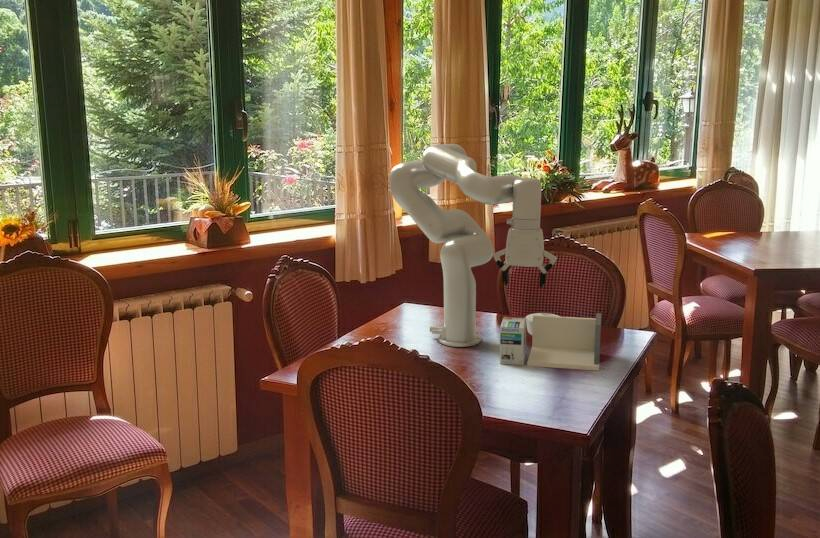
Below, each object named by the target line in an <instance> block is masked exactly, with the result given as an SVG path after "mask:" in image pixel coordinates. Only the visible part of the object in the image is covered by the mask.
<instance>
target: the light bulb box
mask: <svg viewBox="0 0 820 538" xmlns="http://www.w3.org/2000/svg"><path fill="white" fill-rule="evenodd" d="M499 330H500V331H499V333H500V337H499V338H500V339H499V342H500V343H499V345H500V346H499V360H500V361H499V364H500V365H513V366H515V365H516V366H524V364H525V360H526V355H527V323H526V317H513V316H511V317H510V316H509V317H508V316H503V318H502V321H501V324H500V328H499Z"/></svg>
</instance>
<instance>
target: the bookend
mask: <svg viewBox="0 0 820 538" xmlns="http://www.w3.org/2000/svg"><path fill="white" fill-rule="evenodd" d="M595 318H596V325H595V350H594V364H598V365H599V366H600V353H601V333H602V332H601V331H602V329H601V328H602V313H601V312H600V313H599V312H596V314H595Z"/></svg>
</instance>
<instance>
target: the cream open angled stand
mask: <svg viewBox="0 0 820 538" xmlns="http://www.w3.org/2000/svg"><path fill="white" fill-rule="evenodd" d="M559 316H560V315H558V316H541V315H533V333H532V335H531V336H532V339H531V340H532V343H531V344H532V345H531V349H530V353H529V355H528V359H527V366H528V367H541V368H557V369H570V370H581V371H582V370H584V371H585V370H586V371H600V364H599V365H598V364H594V350H595V325H596V317H595V318H593V317H577V316H576V317H575V316H560V317H559Z"/></svg>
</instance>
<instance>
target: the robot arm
mask: <svg viewBox="0 0 820 538" xmlns="http://www.w3.org/2000/svg"><path fill="white" fill-rule="evenodd" d="M477 167H478V165H477V163H476V161H475V160H474V159H473V158H472V157H470V156H468V154H467V152H466V150H465V149H464V148H463V146H461V145H460V144H457V143H442V144H441V143H439V144H433V145H430V146H429V147H427V148H425V150H424V151H423V153H422V155H421V159H420V160H410V161H404V162H401V163H398V164H396V165H395V166H394V167H393V168H392V169H391V171H390V172H389V176H388V184H389V190H390V192H391V195H392V197H393V199H394V200H395V202H396V203H397V204H398V206H400V207H401V208H402V209H403V210H404V211H405V212H406V213H407V214H408V216H410V218H411V219H412V220H413V222H414V223H415V224H416V225H417V227H418V228H419V229H420V230H421V231H422V233H423V234H424V236H426V237H427V239H429V241H431V242H432V243H434V244H442V243H443V244H442V247H441V248H440V252H439V255H440V256H439V258H440V263H441V268H442V277H443V278H442V279H443V325H440V326H438V325H430V326H429V332H430V333H431V334H433V335H438V341H439V343H440V344H442V345H444V346H447V347H455V348H464V347H465V348H466V347H471V346H472V347H473V346H476V345H478V344H480V343H481V339H482V338H481V336H480V335H479V334H477V333H476V324H477V323H476V316H477V314H476V313H477V312H476V311H477V310H476V309H477V305H476V304H477V303H476V302H477V299H476V298H477V290H476V288H477V283H476V278H475V276H474V274H473V271H472V268H474V267H478V266H482V265H484V264H487V263H488V262H489V261H490V260H492V258H493V259H494V261H495V264H496V265H497V266H498V267H499V269H501V271H502V279H501V281H502V282H503V283H504V284H503V285H504V286H508V284H509V282H510V280H509V275H510V270H509V267H510V266H513V267H527V268H538V270H540V273H539V284H538V286H539V288H540V289H541V288H542V289H543V287H544V285H546V283H547V282H546V280H547V273H548V271H550V270H551V269H552V268H553V267H554V265H555V263H556V262H557V260H558V257H557V256H555V255H553V253H551V252H548V251H547V250H545V247H544V245H545V243H544V232H543V229H542V228H541V214H542V213H541V207H542V205H541V204H542V187H543V186H542V181H541V180H540V179H538V178H534V177H522V176H518V175H514V174H505V175H503V174H502V175H495V176H488V175H484V174H482V173H479V172H477V170H478V169H477ZM446 180H447V181H449V182H451V183H453V184H455V185H458V188H459V190H460V191H461V192H462V193H463V194H464V195H465V196H467V197H468V198H470V199H472V200H474V201H476V202H478V203H482V204H484V205H489V206H494V205H500V204H505V203H506V204H507V203H512V211H511V212H512V215H511V216H512V217H511V218H506V224H507V225H510V226H511V227H510V228H508V231H507V235H506V236H507V237H506V244H505V248H503V249H501V250H499V251H496V252H494V246H493V242H492V241H491V238H489V236H488V235H487V233H486V232H485V231H484V230H483V228H482V227H481V226H479V224H478V223H477V222H476V220H474V219H473V218H472V216H471V215H470V214H469V213H468V212H466V211H464V210H462V209H459V208H452V209H443V208H441V207H440V206H439V205H438V204H437V203H436V201H435V200H434V198H432V197H431V196H429V195H428V194H427V193H425V192H423V191H422V190H420V189H425V188H426V189H427V188H432V187H435V186H437V185H439V184H442V183H443V182H445V181H446ZM504 255H505V257H504V258H505V263H504V261H502V260H501V256H504ZM545 258H547V259H548V260H550V262H548V264H547V265H545V264H544V259H545Z"/></svg>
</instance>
